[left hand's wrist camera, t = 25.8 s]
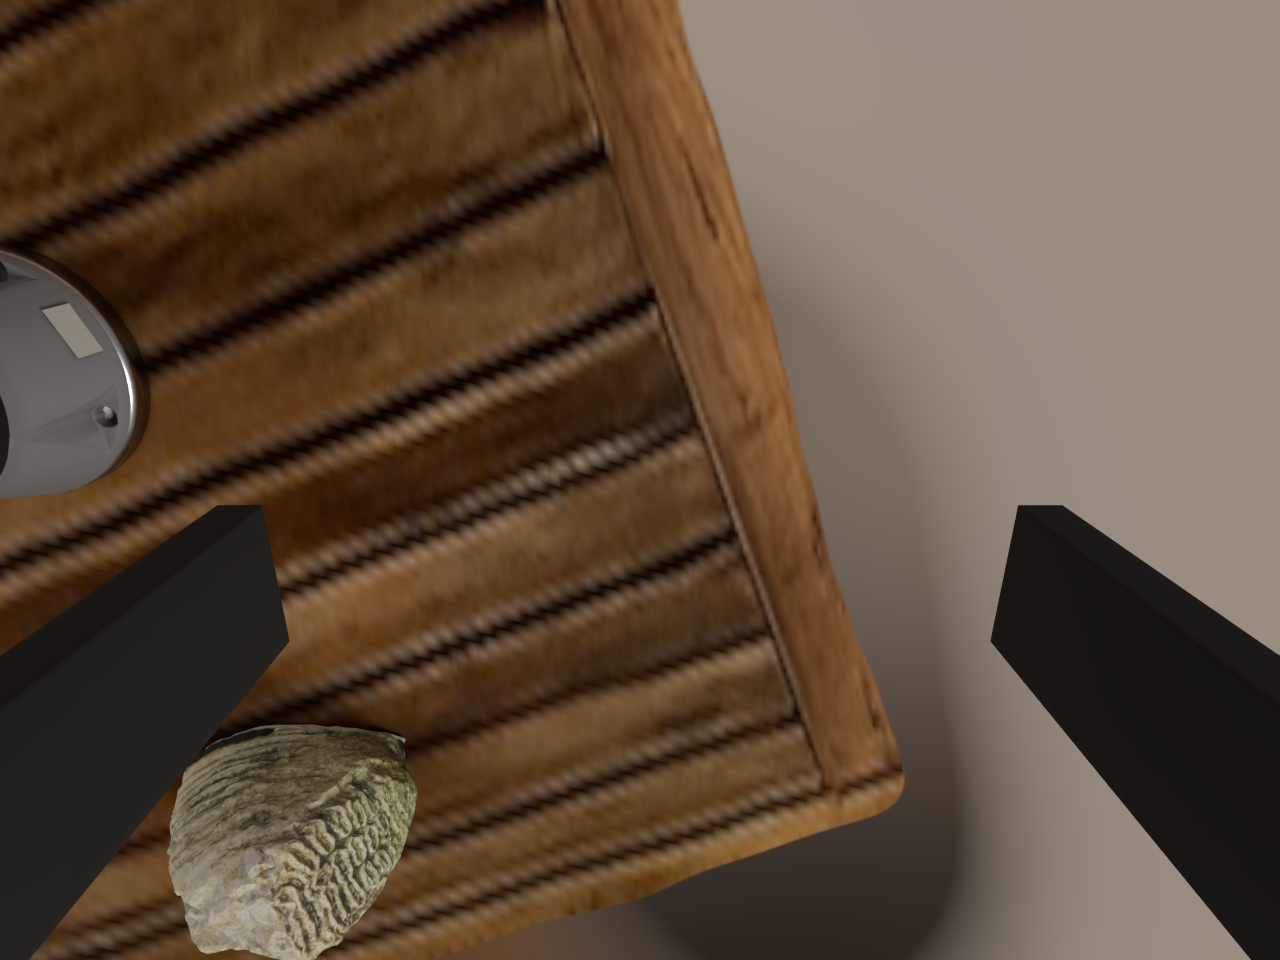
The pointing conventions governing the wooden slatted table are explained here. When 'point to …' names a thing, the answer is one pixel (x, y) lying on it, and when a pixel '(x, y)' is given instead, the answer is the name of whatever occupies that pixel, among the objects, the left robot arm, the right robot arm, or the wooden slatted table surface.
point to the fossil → (288, 836)
